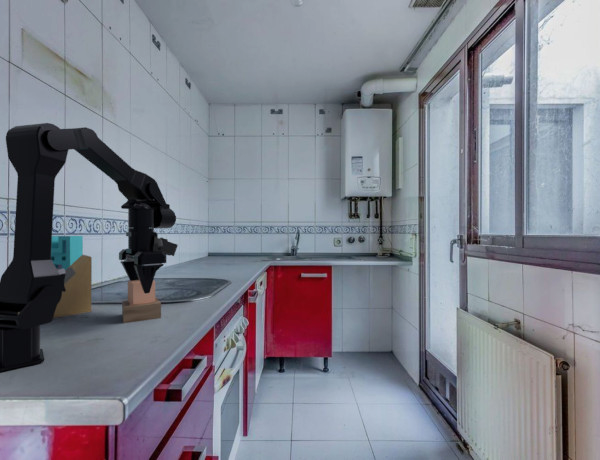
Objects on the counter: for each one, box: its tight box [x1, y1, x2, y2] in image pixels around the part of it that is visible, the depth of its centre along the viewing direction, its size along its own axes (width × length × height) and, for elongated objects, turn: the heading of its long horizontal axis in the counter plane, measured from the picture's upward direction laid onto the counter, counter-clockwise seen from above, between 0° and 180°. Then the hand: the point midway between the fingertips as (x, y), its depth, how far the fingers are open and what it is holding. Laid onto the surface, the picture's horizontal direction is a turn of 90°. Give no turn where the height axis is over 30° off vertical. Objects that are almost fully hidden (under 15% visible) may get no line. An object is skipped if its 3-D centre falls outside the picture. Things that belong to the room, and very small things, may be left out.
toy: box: [51, 235, 84, 270], centre depth 93 cm, size 9×6×20 cm, turn 86°
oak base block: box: [121, 296, 162, 324], centre depth 78 cm, size 8×8×4 cm
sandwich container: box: [18, 254, 93, 319], centre depth 81 cm, size 9×15×15 cm, turn 138°
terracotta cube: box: [127, 280, 156, 304], centre depth 78 cm, size 5×5×5 cm
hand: (141, 290), depth 78 cm, fingers open, 9 cm apart
